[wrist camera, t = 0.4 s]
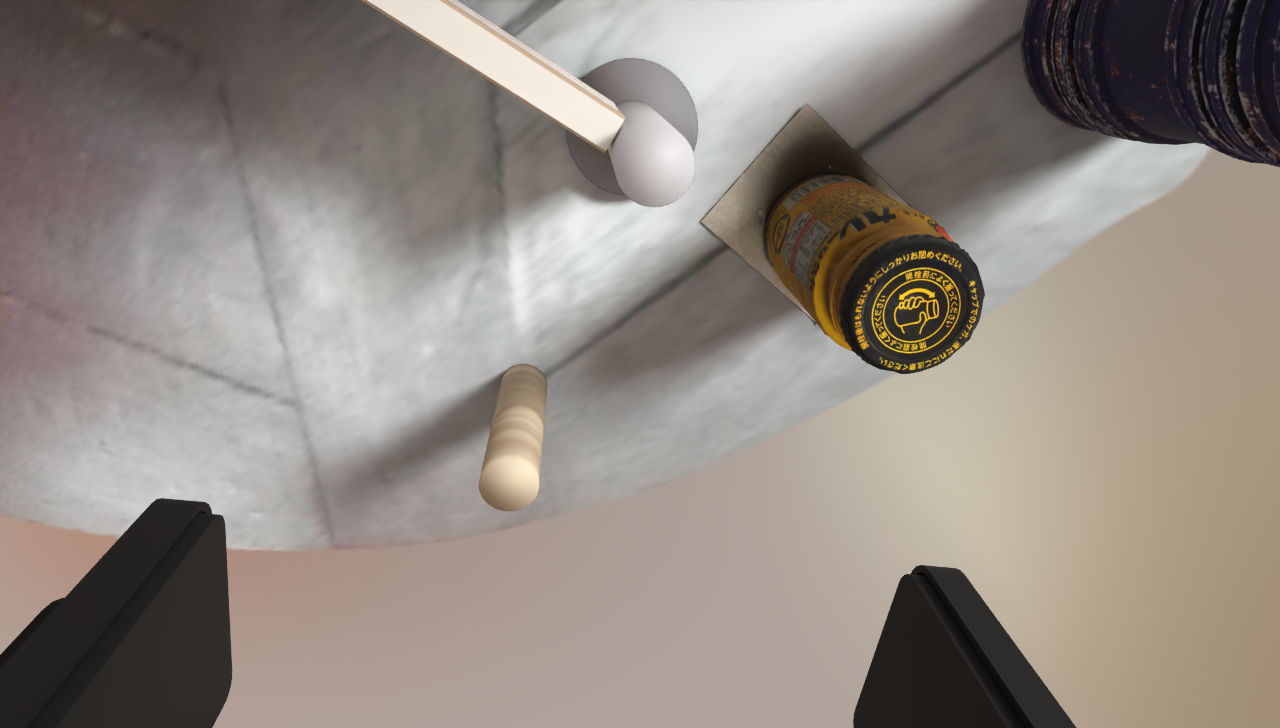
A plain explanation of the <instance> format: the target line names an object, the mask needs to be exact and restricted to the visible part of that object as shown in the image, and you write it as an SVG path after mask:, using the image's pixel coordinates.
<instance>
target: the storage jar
mask: <svg viewBox="0 0 1280 728" xmlns="http://www.w3.org/2000/svg"><path fill="white" fill-rule="evenodd" d="M1021 43H1022V60H1023V65H1024V70H1025V74H1026V77H1027V80H1028V82H1029V85H1030V88H1031V89H1032V91H1033V93H1034V94H1035V96H1036V98H1037V99H1038V101H1039V102H1040V103H1041V104H1042V105H1043V107H1044V108H1045V109H1046V110H1047V111H1048V112H1049V113H1051V114H1052V115H1053V116H1055V117H1056V118H1057V119H1059V120H1061V121H1063V122H1065V123H1067V124H1069V125H1071V126H1074V127H1078V128H1082V129H1086V130H1092V131H1099V132H1101V133H1103V134H1105V135H1109V136H1113V137H1117V138H1122V139H1127V140H1132V141H1141V142H1145V143H1153V144H1173V145H1178V144H1188V143H1201V144H1205V145H1207V146H1209V147H1211V148H1213V149H1215V150H1217V151H1219V152H1222V153H1224V154H1226V155H1229V156H1230V157H1232V158H1236V159H1239V160H1244V161H1247V162H1251V163H1266V164H1269V165H1273V166H1277V167H1280V0H1029V3H1028V5H1027V9H1026V14H1025V18H1024V22H1023V30H1022V40H1021Z"/></svg>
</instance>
